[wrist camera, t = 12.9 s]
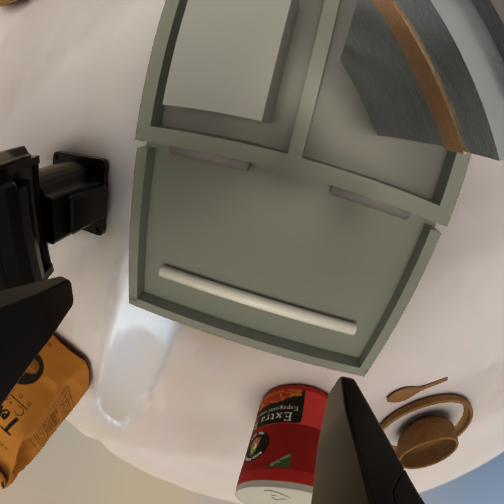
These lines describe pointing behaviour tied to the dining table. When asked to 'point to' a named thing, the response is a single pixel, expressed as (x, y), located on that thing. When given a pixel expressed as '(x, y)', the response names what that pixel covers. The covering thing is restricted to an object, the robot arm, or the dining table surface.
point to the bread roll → (6, 2)
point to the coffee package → (39, 406)
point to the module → (431, 71)
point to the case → (277, 186)
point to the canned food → (283, 447)
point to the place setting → (427, 428)
